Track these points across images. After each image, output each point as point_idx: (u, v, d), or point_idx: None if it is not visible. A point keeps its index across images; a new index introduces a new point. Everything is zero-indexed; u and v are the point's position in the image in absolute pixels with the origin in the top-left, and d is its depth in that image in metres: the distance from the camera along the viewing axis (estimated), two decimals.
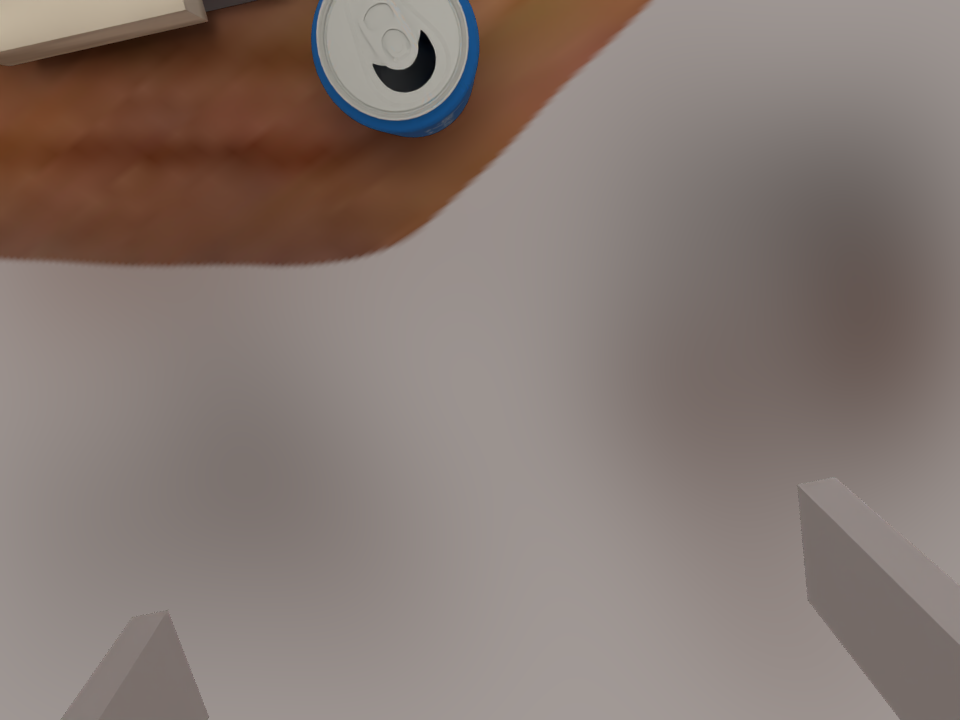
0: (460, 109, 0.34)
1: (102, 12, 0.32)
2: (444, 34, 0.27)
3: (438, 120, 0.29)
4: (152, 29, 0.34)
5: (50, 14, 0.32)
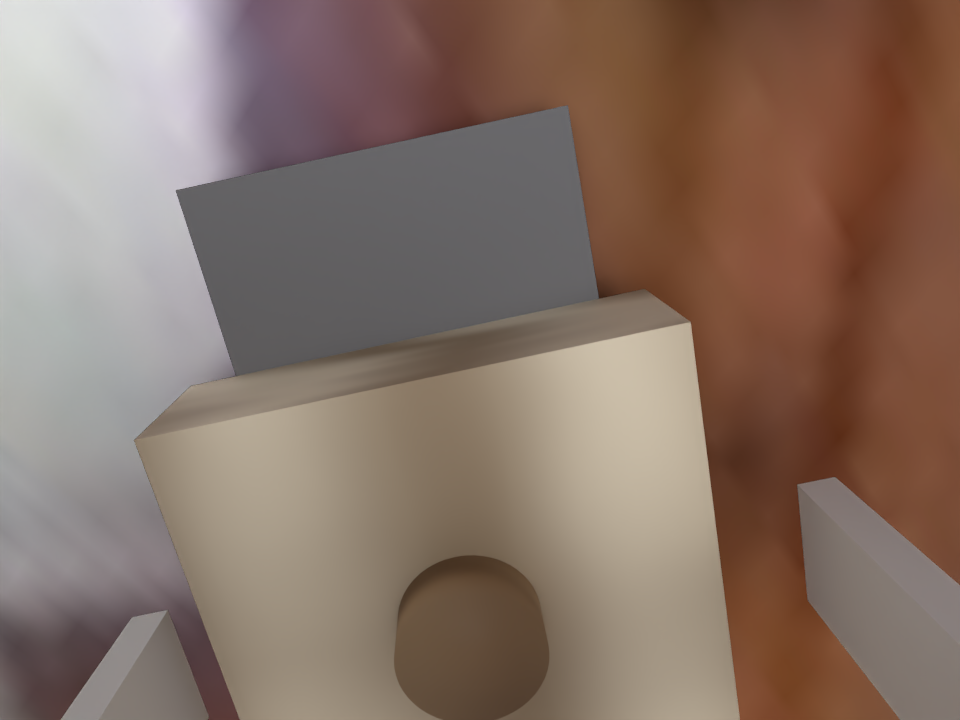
0: None
1: (681, 509, 0.14)
2: None
3: None
4: None
5: (676, 612, 0.14)
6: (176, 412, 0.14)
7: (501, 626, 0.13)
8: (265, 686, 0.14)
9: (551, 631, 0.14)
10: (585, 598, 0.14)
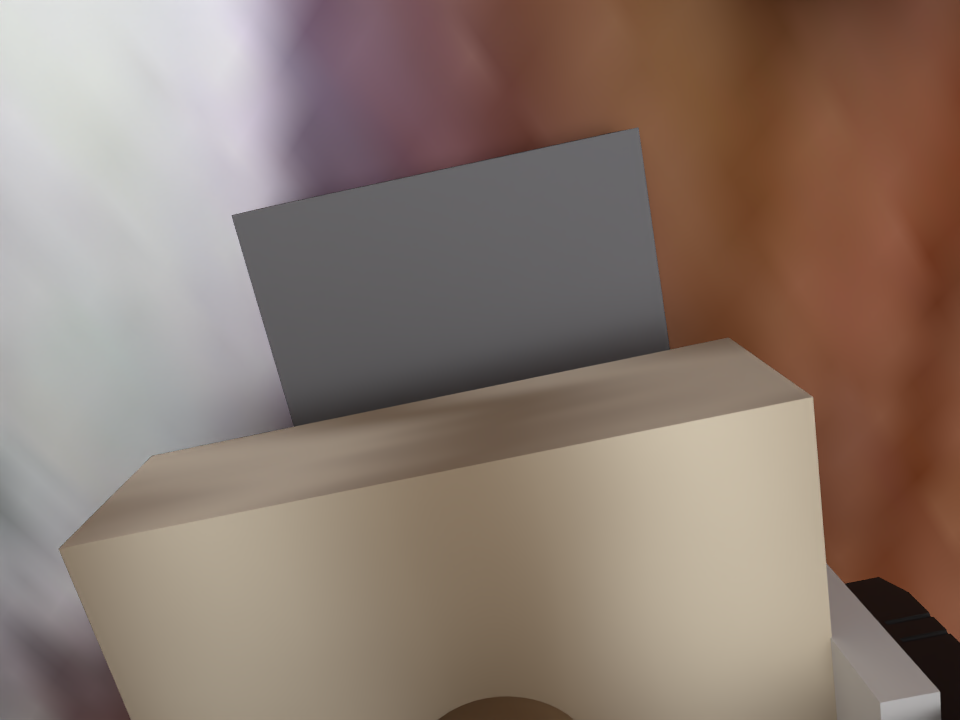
0: None
1: (789, 640, 0.10)
2: None
3: None
4: None
5: None
6: (123, 501, 0.11)
7: None
8: None
9: None
10: None
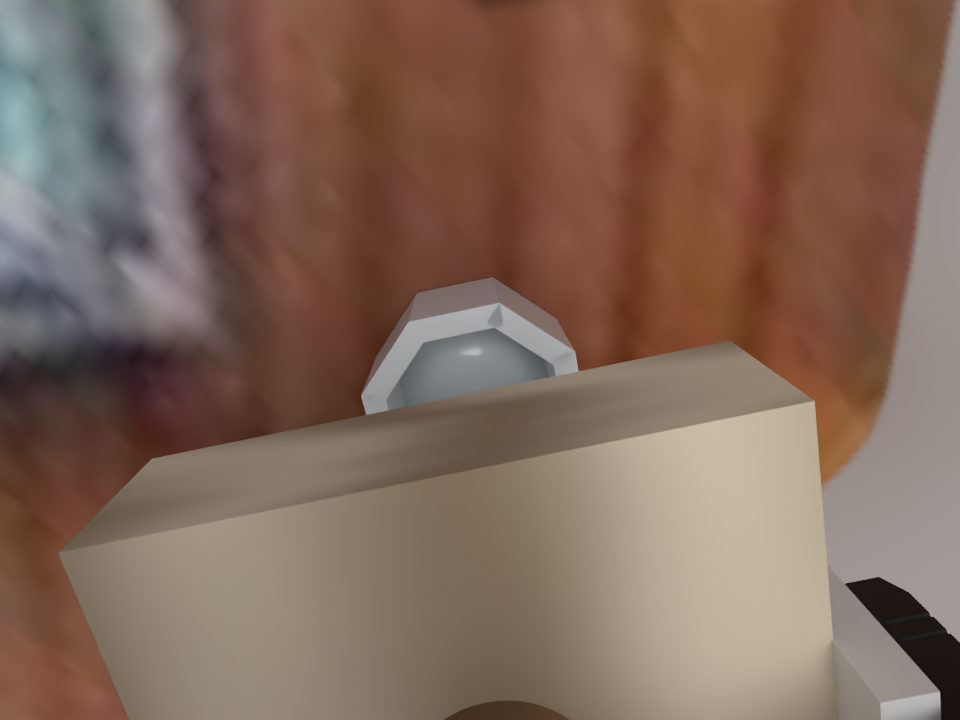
0: None
1: (790, 644, 0.10)
2: None
3: None
4: None
5: None
6: (123, 505, 0.11)
7: None
8: None
9: None
10: None
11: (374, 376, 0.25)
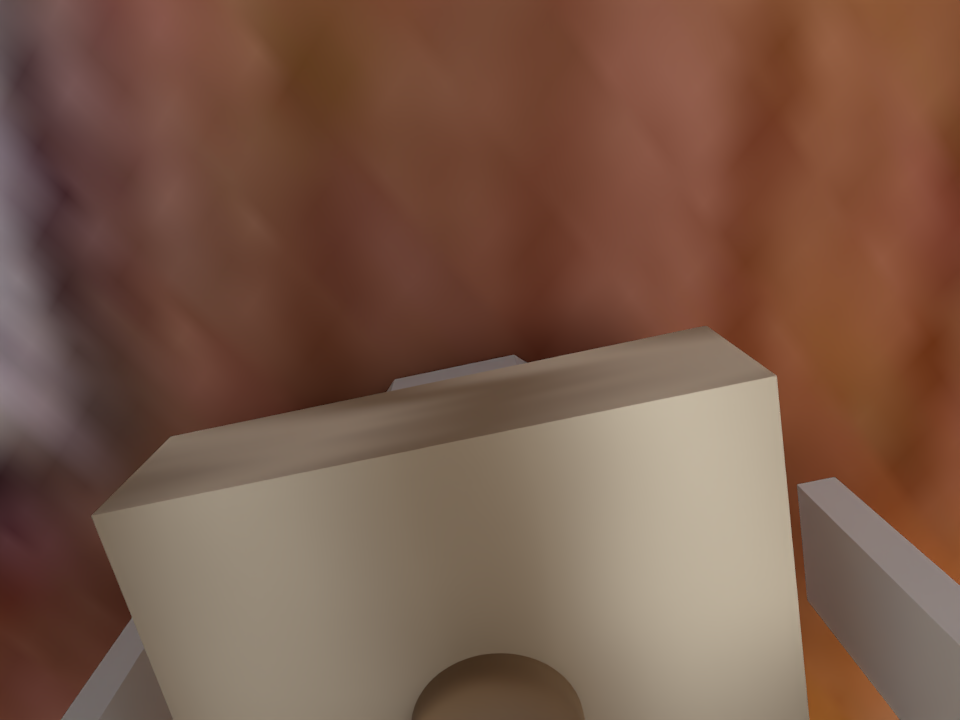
0: None
1: (758, 601, 0.11)
2: None
3: None
4: None
5: None
6: (147, 475, 0.12)
7: None
8: None
9: None
10: (638, 704, 0.12)
11: None
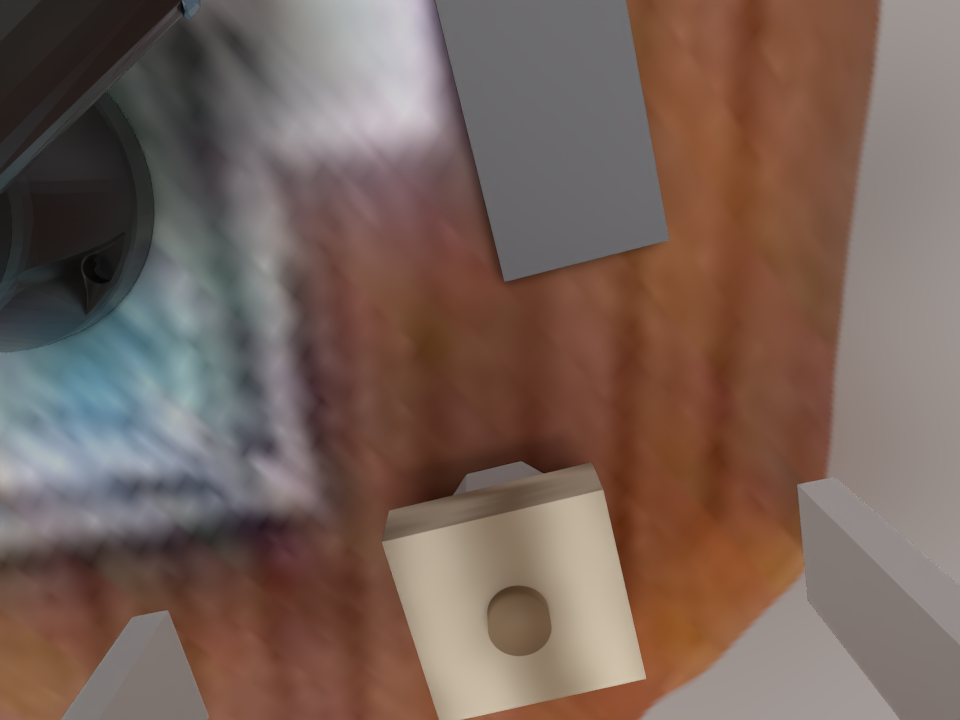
0: None
1: (606, 564, 0.32)
2: None
3: None
4: None
5: (607, 608, 0.33)
6: (391, 527, 0.33)
7: (531, 614, 0.32)
8: (430, 643, 0.33)
9: (553, 617, 0.33)
10: (567, 603, 0.33)
11: None
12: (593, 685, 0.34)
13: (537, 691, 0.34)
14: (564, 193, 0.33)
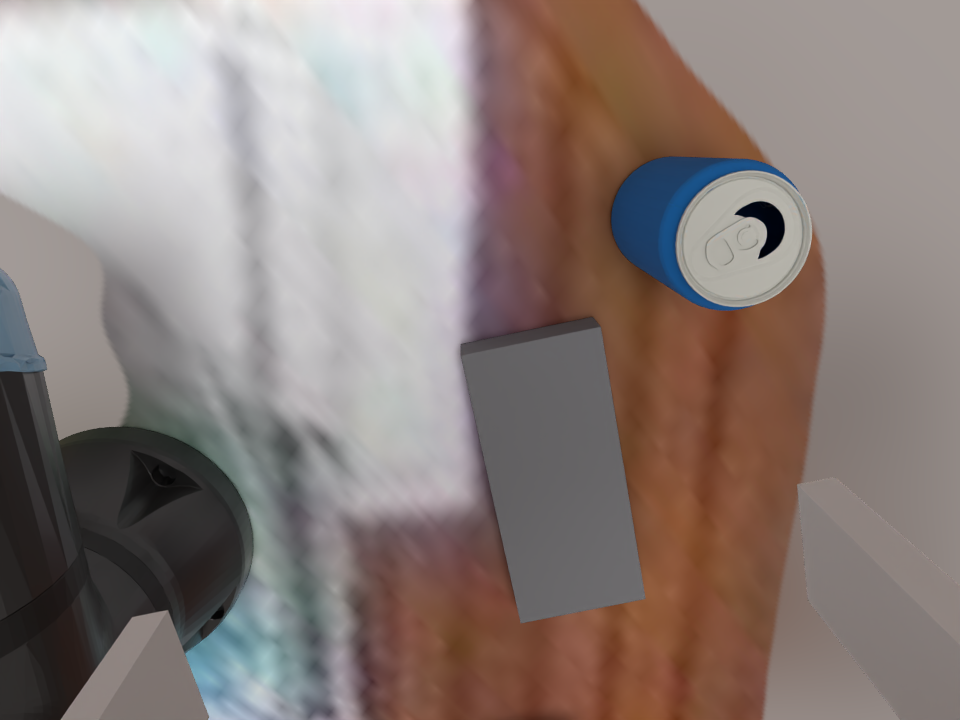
0: None
1: None
2: (741, 192, 0.29)
3: None
4: None
5: None
6: None
7: None
8: None
9: None
10: None
11: None
12: None
13: None
14: (568, 567, 0.45)
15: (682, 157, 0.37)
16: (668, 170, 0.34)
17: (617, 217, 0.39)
